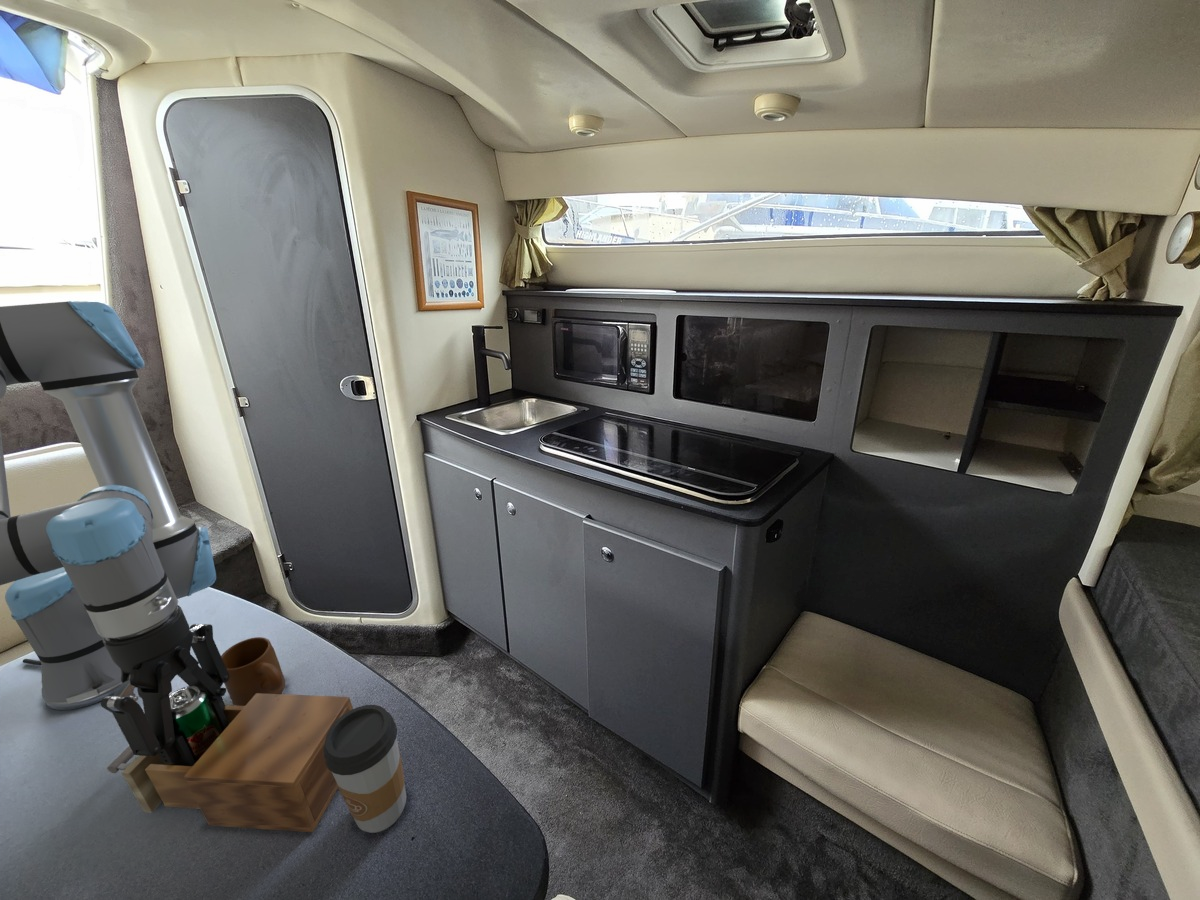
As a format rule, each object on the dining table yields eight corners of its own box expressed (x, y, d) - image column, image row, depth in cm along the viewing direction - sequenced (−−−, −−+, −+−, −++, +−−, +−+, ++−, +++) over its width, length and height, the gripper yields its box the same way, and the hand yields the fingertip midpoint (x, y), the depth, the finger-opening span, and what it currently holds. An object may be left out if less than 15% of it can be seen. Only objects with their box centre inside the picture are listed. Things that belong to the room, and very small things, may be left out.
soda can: (191, 786, 67) (158, 722, 62) (184, 762, 70) (152, 700, 66) (235, 759, 70) (207, 696, 66) (226, 738, 73) (199, 677, 69)
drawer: (105, 810, 67) (80, 770, 64) (178, 733, 77) (160, 696, 74) (237, 818, 65) (218, 778, 62) (293, 739, 76) (279, 701, 73)
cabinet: (208, 825, 65) (183, 776, 62) (274, 738, 77) (256, 693, 73) (313, 832, 64) (293, 782, 60) (363, 743, 76) (349, 696, 72)
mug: (312, 695, 84) (297, 652, 81) (267, 731, 78) (249, 687, 75) (270, 671, 90) (254, 630, 86) (225, 703, 83) (206, 661, 80)
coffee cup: (333, 829, 64) (303, 748, 59) (381, 770, 71) (358, 693, 66) (383, 854, 61) (356, 772, 56) (427, 790, 68) (408, 712, 63)
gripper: (93, 680, 52) (173, 822, 61) (227, 575, 69) (274, 698, 77) (30, 677, 53) (117, 818, 61) (177, 574, 69) (229, 697, 78)
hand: (204, 751), depth 69 cm, fingers closed on soda can, 5 cm apart
